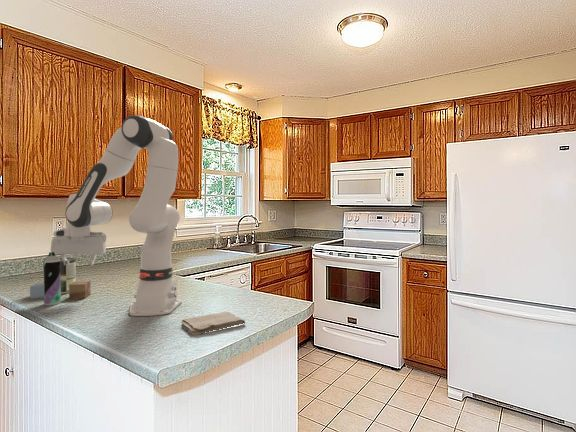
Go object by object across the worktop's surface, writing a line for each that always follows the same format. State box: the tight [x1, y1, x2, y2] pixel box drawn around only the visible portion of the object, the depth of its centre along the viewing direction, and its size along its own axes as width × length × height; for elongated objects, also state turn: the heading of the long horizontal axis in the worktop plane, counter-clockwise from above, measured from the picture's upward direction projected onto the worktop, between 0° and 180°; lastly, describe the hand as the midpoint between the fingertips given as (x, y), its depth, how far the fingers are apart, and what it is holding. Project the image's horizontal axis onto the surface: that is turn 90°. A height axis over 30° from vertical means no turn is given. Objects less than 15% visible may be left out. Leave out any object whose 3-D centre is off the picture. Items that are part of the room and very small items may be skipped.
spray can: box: [42, 251, 62, 306], centre depth 141 cm, size 6×6×20 cm
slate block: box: [29, 282, 44, 299], centre depth 151 cm, size 5×5×5 cm
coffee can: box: [59, 257, 77, 295], centre depth 160 cm, size 10×10×14 cm
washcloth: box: [180, 311, 246, 336], centre depth 118 cm, size 12×18×3 cm, turn 126°
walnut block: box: [68, 280, 92, 300], centre depth 152 cm, size 6×6×6 cm
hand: (78, 264), depth 151 cm, fingers open, 8 cm apart
